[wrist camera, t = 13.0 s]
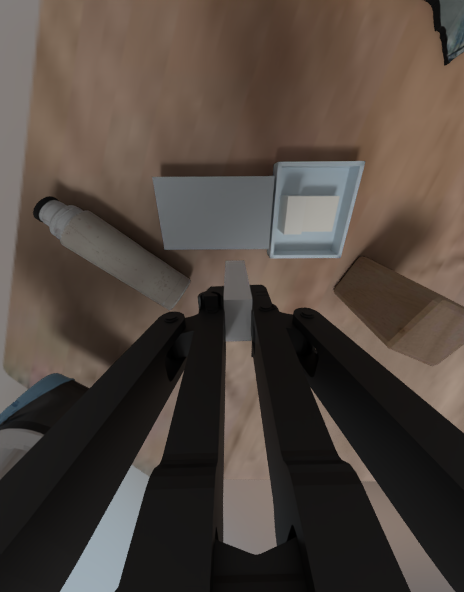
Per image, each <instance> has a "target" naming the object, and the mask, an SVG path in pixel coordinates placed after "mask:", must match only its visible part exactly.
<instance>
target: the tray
mask: <svg viewBox="0 0 464 592" xmlns="http://www.w3.org/2000/svg"><path fill="white" fill-rule="evenodd" d="M364 165H365V161H313V162H277V163H275V164H274V167H273V176H275V178H274V190H273V202H272V215H271V227H270V239H269V249H267V254H268V255H269V257H270V258H341V254H342V250H343V246H344V243H345V239H346V235H347V231H348V227H349V223H350V219H351V215H352V211H353V207H354V204H355V200H356V196H357V192H358V188H359V184H360V180H361V176H362V172H363V168H364ZM280 195H300V196H340V198H339V202H338V207H337V211H336V216H335V220H334V225H333V229H332V232H301V234H288V235H284V234H283V233H282V232H281V231H279V230H278V229H277V225H278V215H279V204H280Z"/></svg>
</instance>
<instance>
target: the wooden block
mask: <svg viewBox="0 0 464 592" xmlns="http://www.w3.org/2000/svg"><path fill="white" fill-rule="evenodd" d="M334 293H335V294H336V295H337V296H338V297H339V298H340V299H341V300H342V301H343V302H344V303H345V304H346V305H347V306H348V308H349V309H350V310H351V311H352V312H353V313H354V314H355V315H356V316H357V317H358V318H359V319H360V320H361V321H362V322H363V323H364V324H365V325H366V326H367V327H368V328H369V329H370V330H371V331H372V332H373V333H374V334H375V335H376V336H377V337H378V338H379V339H380V340H381V341H382V342H383V343H384V344H385V345H386V346H387V347H388V348H389V349H392V350H394V351H397V352H399V353H401V354H404V355H406V356H409V357H411V358H413V359H416V360H418V361H421V362H423V363H425V364H428V365H430V366H434V365H437V364H439V363H440V362H441V361H443V360H444V359H445V358H447V357H448V356H449V355H451V354H452V353H453V352H454V351H456V350H457V349H458V348H460V347H461V346H462V345H464V307H463V306H461V305H459V304H457V303H455V302H454V301H452V300H450V299H448V298H446V297H444V296H442V295H440V294H438V293H436V292H434V291H432V290H430V289H428V288H426V287H424V286H422V285H420V284H418V283H416V282H414V281H412V280H410V279H408V278H406V277H404V276H402V275H400V274H398V273H396V272H394V271H393V270H391V269H389V268H387V267H385V266H383V265H381V264H379V263H377V262H375V261H373V260H371V259H369V258H367V257H359V258H358V259H357V260H356V262H355V263H354V264H353V266H352V267H351V268H350V269H349V271H348V272H347V273H346V275H345V276H344V277H343V278H342V280H341V281H340V282H339V284H338V285H337V286H336V287H335V289H334Z"/></svg>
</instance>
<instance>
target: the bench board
mask: <svg viewBox="0 0 464 592" xmlns="http://www.w3.org/2000/svg"><path fill="white" fill-rule="evenodd" d="M152 178H153V184H154V190H155V196H156V202H157V208H158V214H159V220H160V226H161V232H162V238H163V244H164V250H188V249H269V239H270V227H271V215H272V202H273V190H274V178H275V176H218V177H152Z"/></svg>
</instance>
